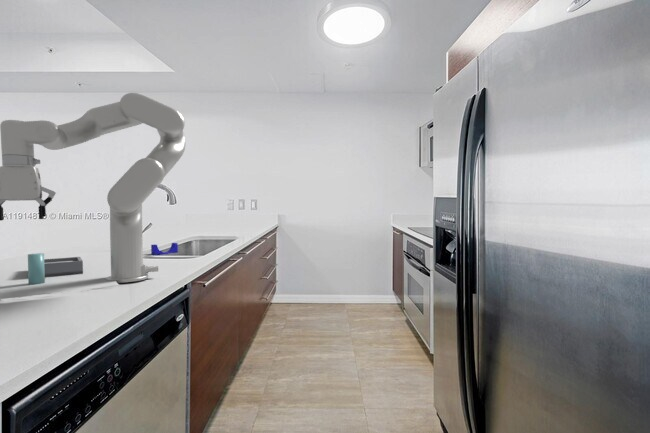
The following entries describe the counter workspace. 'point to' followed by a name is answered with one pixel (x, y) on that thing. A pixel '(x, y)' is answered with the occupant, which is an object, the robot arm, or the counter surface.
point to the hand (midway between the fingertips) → (21, 219)
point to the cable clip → (173, 249)
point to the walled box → (63, 266)
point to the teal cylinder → (36, 268)
